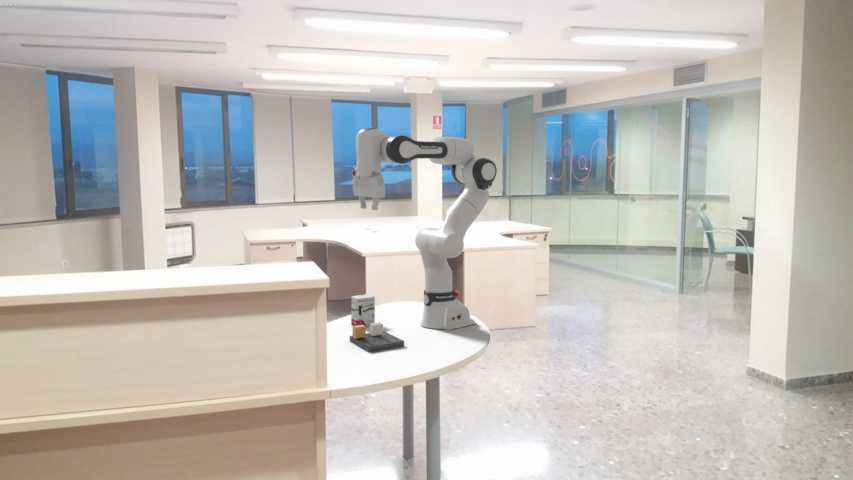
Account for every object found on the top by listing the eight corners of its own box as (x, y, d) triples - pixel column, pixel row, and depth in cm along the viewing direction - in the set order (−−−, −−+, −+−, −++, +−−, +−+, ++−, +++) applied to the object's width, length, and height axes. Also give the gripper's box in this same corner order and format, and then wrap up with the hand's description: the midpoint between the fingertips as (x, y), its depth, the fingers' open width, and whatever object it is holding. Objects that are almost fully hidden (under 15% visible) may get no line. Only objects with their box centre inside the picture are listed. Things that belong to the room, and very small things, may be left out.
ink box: (356, 327, 258) (356, 298, 257) (351, 324, 263) (350, 296, 261) (375, 324, 263) (375, 295, 262) (369, 321, 267) (369, 293, 266)
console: (383, 336, 245) (383, 330, 245) (404, 346, 232) (404, 340, 231) (349, 341, 238) (349, 335, 238) (368, 352, 225) (368, 346, 224)
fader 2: (379, 332, 241) (379, 322, 241) (382, 334, 239) (382, 323, 239) (370, 334, 239) (370, 323, 239) (373, 335, 237) (373, 325, 237)
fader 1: (362, 335, 238) (362, 324, 237) (365, 337, 235) (365, 326, 235) (352, 337, 236) (352, 325, 235) (355, 338, 233) (355, 327, 233)
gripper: (389, 172, 232) (389, 210, 234) (364, 171, 250) (365, 207, 251) (373, 172, 229) (373, 211, 231) (349, 171, 246) (350, 207, 248)
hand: (369, 209), depth 241 cm, fingers open, 8 cm apart
